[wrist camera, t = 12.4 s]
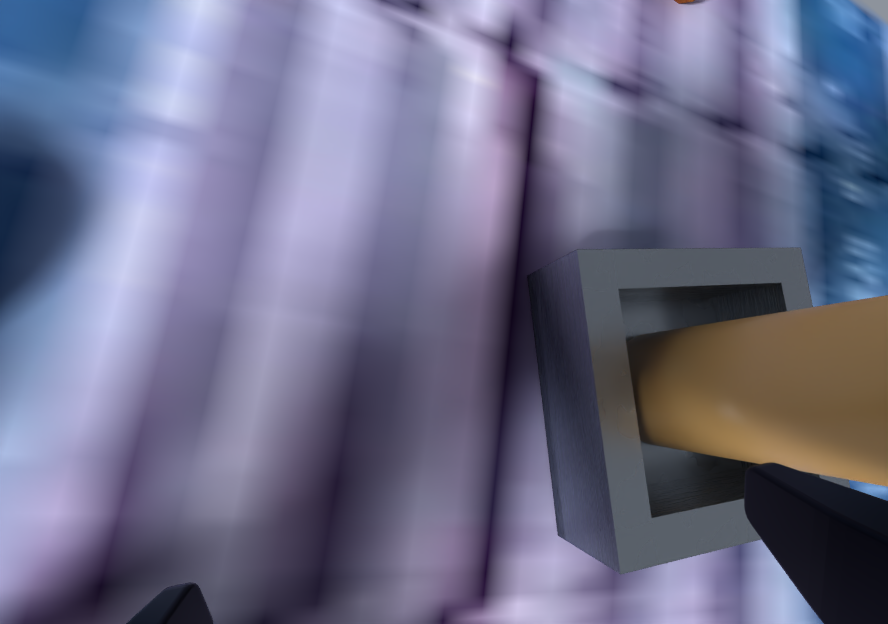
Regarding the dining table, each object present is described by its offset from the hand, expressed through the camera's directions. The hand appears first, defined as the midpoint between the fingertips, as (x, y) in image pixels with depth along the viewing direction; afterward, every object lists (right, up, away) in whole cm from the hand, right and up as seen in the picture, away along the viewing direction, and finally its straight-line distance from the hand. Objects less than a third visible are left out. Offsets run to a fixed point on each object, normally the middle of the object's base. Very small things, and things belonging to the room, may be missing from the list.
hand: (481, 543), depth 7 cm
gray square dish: (+9, 0, +13) cm, 16 cm away
